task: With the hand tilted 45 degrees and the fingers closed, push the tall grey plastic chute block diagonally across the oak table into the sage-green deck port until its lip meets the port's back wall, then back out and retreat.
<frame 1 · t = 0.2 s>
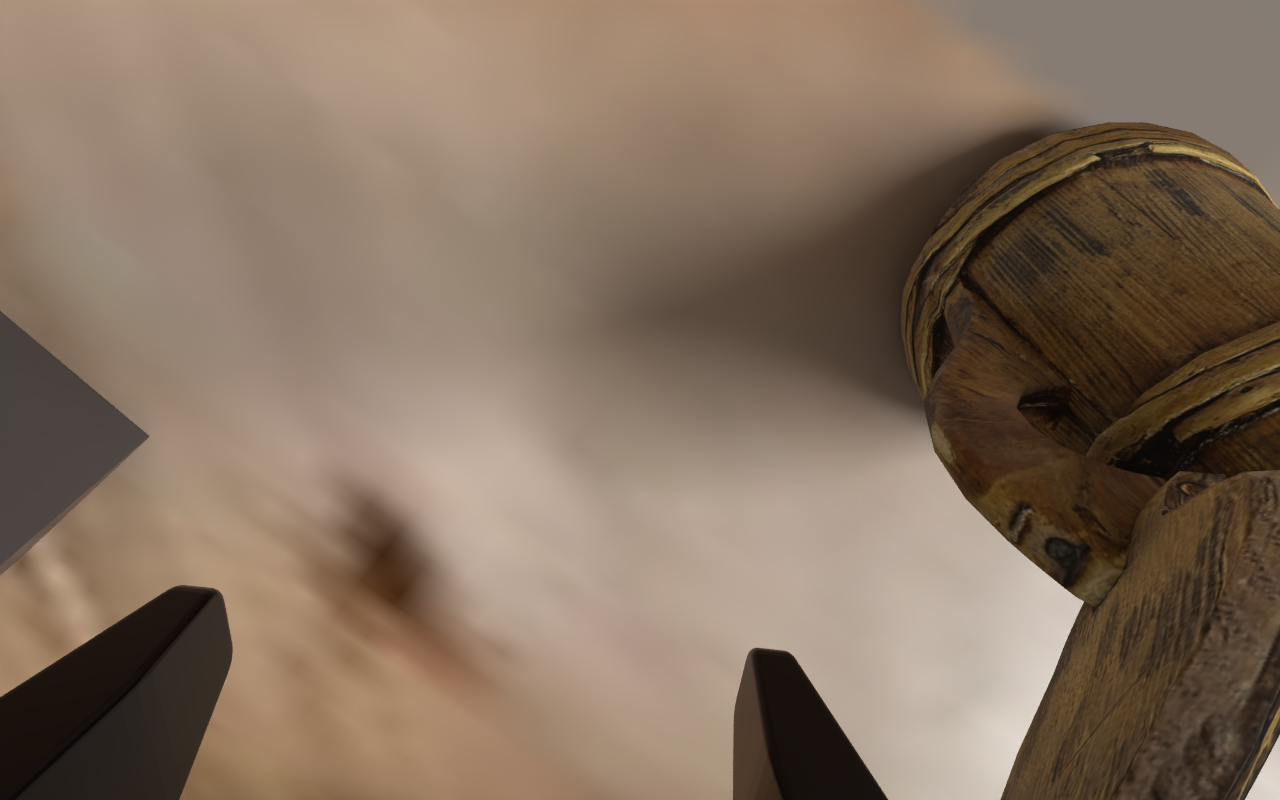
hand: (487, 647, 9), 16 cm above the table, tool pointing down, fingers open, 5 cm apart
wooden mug: (993, 271, 23), on the table, touching gripper
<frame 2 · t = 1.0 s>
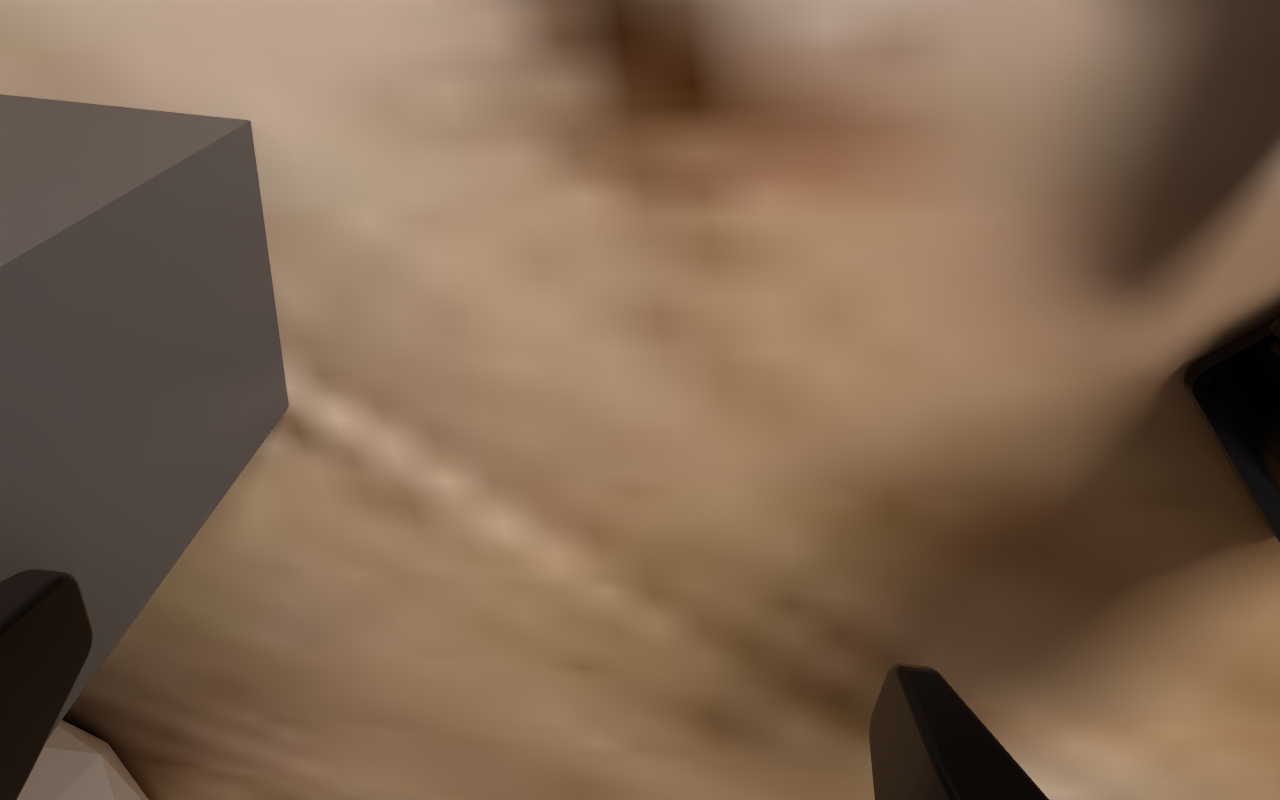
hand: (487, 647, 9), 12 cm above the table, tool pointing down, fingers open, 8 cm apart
chute block: (116, 260, 20), on the table
geodesic sphere: (48, 747, 29), on the table
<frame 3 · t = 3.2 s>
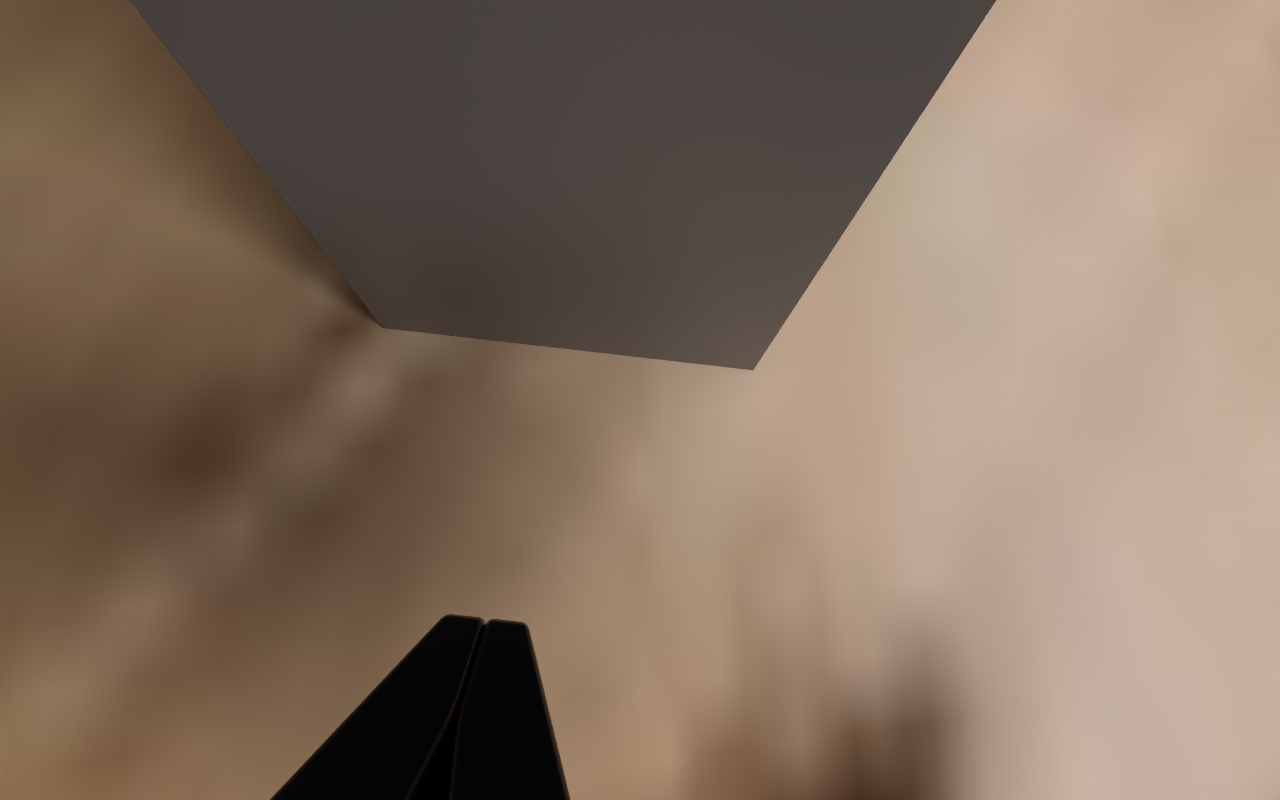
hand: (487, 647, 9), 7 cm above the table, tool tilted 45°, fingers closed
chute block: (590, 179, 17), on the table
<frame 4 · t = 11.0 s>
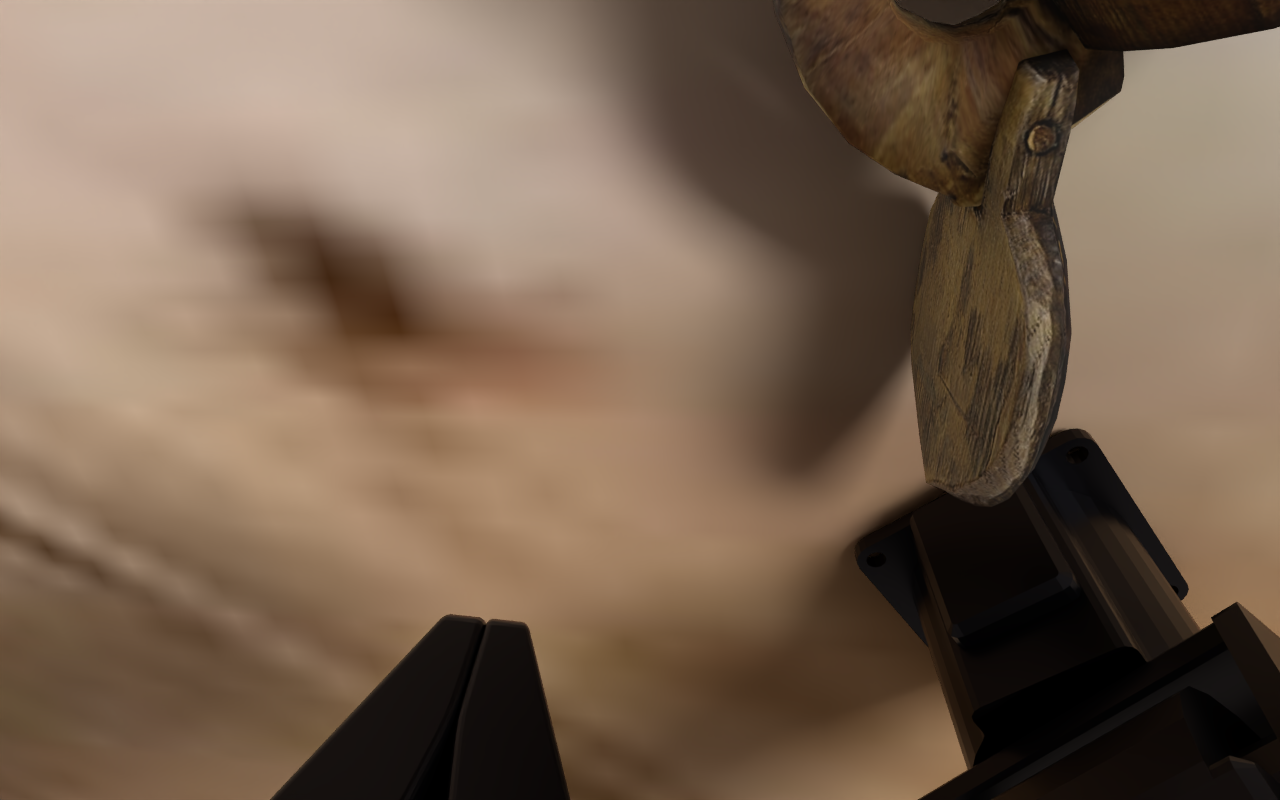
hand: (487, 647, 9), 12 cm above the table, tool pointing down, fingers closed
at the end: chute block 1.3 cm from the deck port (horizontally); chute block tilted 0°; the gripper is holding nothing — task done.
